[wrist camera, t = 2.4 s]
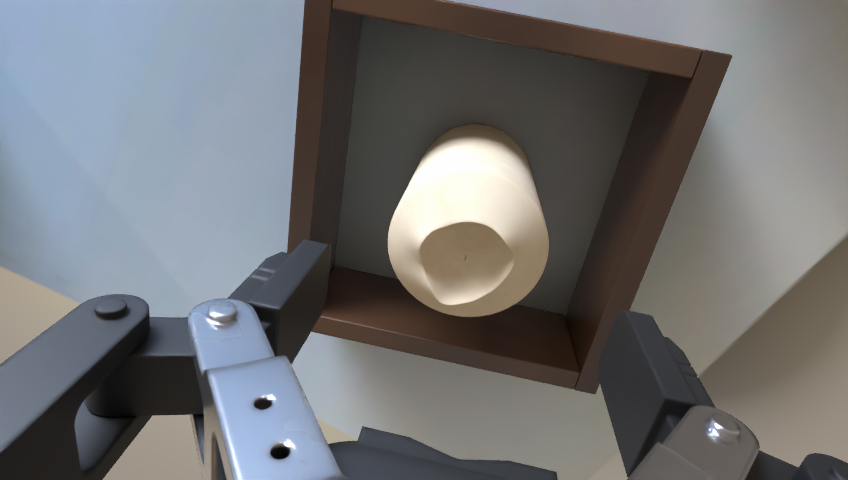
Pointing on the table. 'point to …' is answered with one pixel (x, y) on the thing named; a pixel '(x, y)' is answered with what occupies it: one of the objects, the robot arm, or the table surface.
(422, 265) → the candle
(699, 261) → the table surface
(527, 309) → the walnut box
